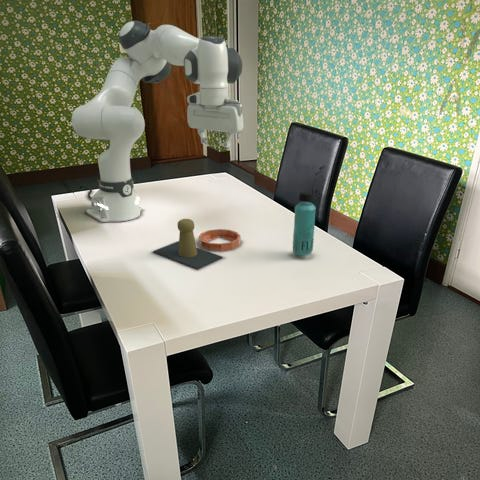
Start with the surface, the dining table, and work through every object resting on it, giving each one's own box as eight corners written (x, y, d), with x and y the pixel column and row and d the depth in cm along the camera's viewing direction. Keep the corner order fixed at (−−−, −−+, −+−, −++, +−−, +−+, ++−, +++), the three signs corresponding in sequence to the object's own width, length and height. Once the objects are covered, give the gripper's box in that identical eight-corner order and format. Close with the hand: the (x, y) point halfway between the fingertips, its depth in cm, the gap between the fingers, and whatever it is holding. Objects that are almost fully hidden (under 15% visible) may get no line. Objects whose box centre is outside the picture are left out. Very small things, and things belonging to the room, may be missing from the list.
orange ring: (190, 244, 155) (190, 237, 153) (218, 232, 163) (218, 226, 162) (220, 254, 147) (220, 247, 146) (248, 242, 156) (248, 235, 154)
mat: (153, 252, 149) (153, 251, 148) (178, 242, 156) (178, 241, 155) (197, 269, 138) (197, 268, 137) (222, 258, 145) (222, 256, 144)
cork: (200, 251, 148) (198, 217, 142) (192, 258, 143) (190, 224, 137) (183, 248, 150) (180, 215, 144) (175, 256, 145) (172, 222, 139)
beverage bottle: (299, 261, 142) (303, 196, 132) (287, 253, 147) (290, 191, 137) (316, 257, 145) (322, 193, 134) (304, 250, 150) (309, 188, 139)
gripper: (247, 99, 139) (247, 147, 146) (196, 95, 150) (198, 140, 157) (235, 101, 135) (235, 150, 142) (183, 96, 145) (185, 143, 152)
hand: (215, 145), depth 150 cm, fingers open, 8 cm apart
